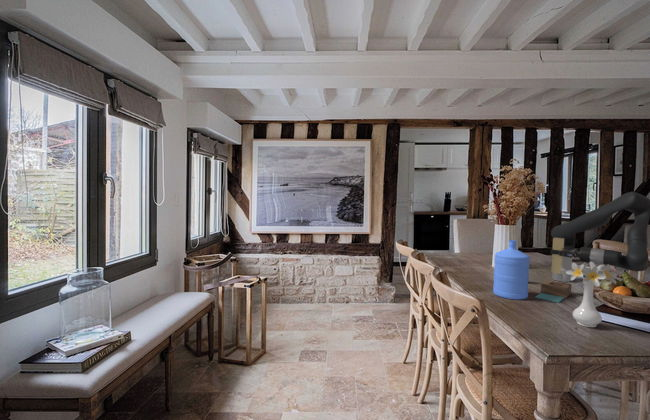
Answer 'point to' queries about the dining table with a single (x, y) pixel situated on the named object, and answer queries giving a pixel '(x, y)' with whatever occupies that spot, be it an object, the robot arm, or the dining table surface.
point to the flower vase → (588, 291)
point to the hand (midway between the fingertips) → (551, 251)
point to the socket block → (556, 288)
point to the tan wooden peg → (556, 259)
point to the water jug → (511, 273)
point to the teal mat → (549, 297)
